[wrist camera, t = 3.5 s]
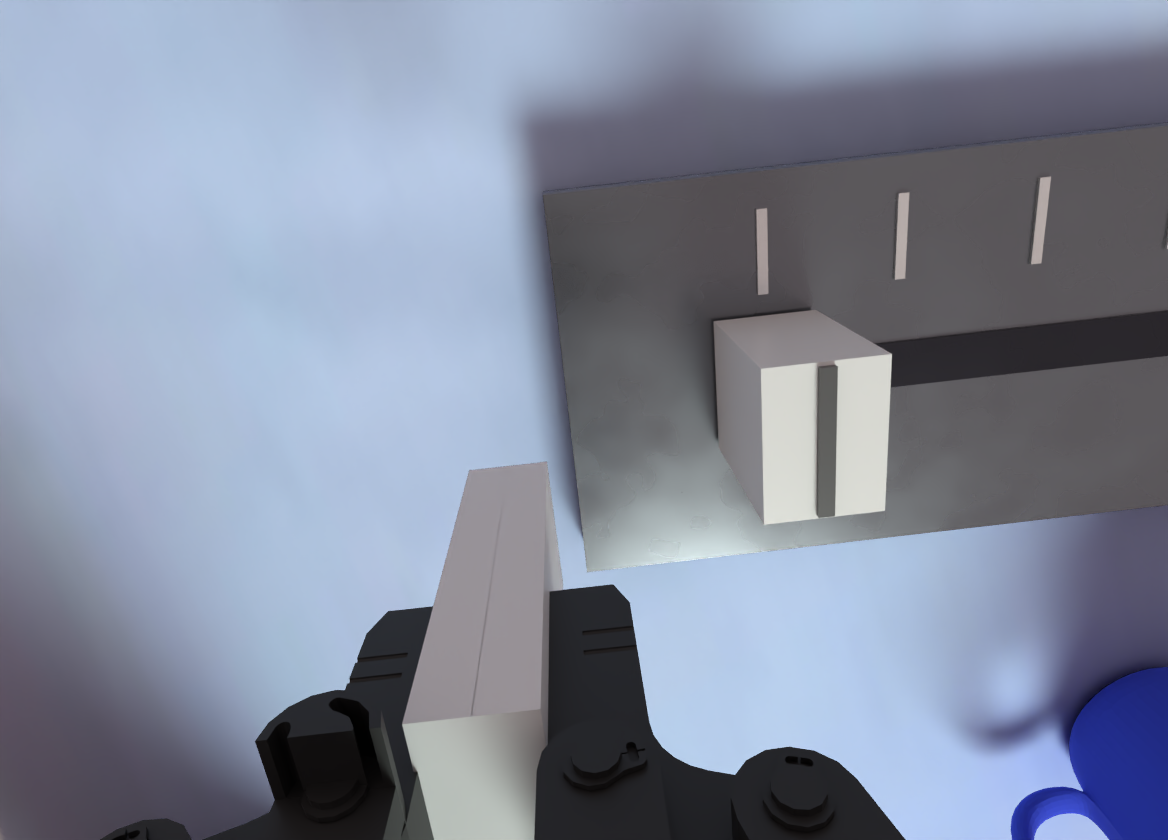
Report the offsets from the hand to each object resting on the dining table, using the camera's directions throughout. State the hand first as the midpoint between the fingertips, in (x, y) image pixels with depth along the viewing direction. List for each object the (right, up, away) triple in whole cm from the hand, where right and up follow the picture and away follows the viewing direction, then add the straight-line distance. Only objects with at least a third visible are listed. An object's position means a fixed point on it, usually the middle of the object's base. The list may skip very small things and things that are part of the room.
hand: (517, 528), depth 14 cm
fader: (+7, +3, +8) cm, 11 cm away
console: (+16, +5, +10) cm, 19 cm away
